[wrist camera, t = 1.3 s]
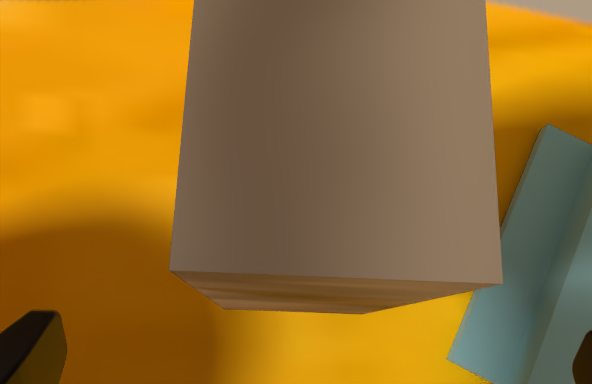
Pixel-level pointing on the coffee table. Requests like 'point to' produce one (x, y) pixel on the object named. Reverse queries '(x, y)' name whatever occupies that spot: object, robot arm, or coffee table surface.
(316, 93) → the block
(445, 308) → the coffee table surface
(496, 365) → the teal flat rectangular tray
